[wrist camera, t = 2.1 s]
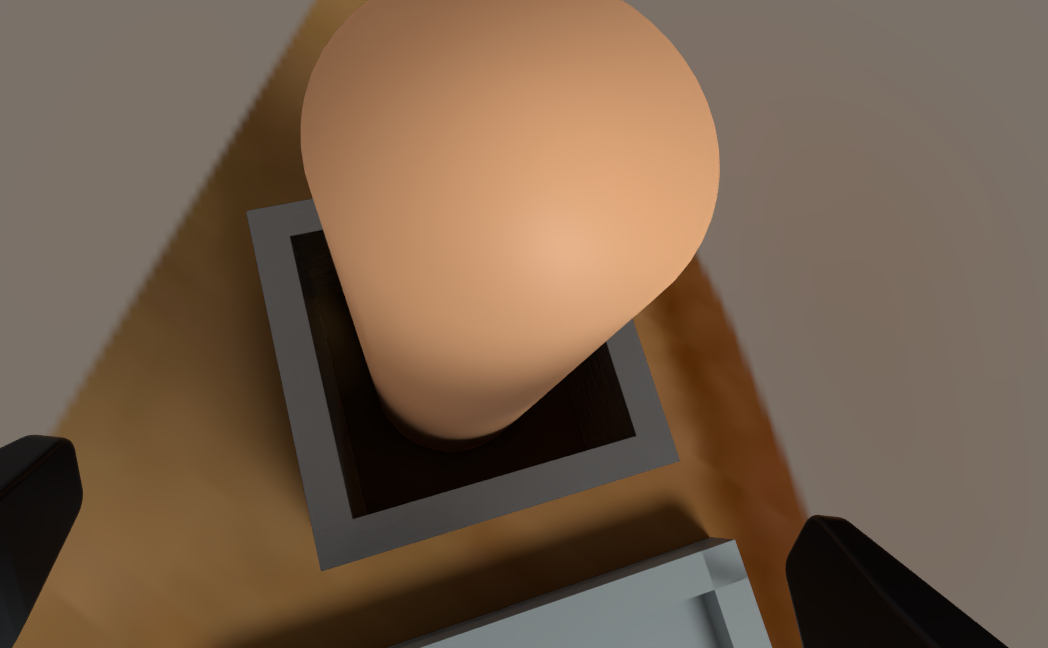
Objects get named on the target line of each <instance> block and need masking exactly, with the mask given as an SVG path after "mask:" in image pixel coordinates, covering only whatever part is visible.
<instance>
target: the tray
mask: <svg viewBox="0 0 1048 648" xmlns="http://www.w3.org/2000/svg"><path fill="white" fill-rule="evenodd" d="M387 648H772V646H771V643H770V641H769V638H768V635H767V632H766V629H765V626H764V623H763V620H762V617H761V614H760V611H759V609H758V606H757V603H756V600H755V597H754V594H753V591H752V588H751V585H750V582H749V579H748V577H747V574H746V571H745V568H744V565H743V562H742V559H741V556H740V553H739V550H738V547H737V545H736V542H735V540H734V539H723V538H713V537H710V538H708V539H705V540H702V541H699V542H696V543H693V544H690V545H687V546H684V547H681V548H678V549H675V550H672V551H669V552H666V553H663V554H661V555H658V556H655V557H652V558H649V559H646V560H643V561H640V562H637V563H634V564H631V565H628V566H625V567H622V568H619V569H616V570H613V571H611V572H608V573H605V574H602V575H599V576H596V577H593V578H590V579H587V580H584V581H581V582H578V583H575V584H572V585H569V586H566V587H563V588H561V589H558V590H555V591H552V592H549V593H546V594H543V595H540V596H537V597H534V598H531V599H528V600H525V601H522V602H519V603H516V604H513V605H511V606H508V607H505V608H502V609H499V610H496V611H493V612H490V613H487V614H484V615H481V616H478V617H475V618H472V619H469V620H466V621H463V622H461V623H458V624H455V625H452V626H449V627H446V628H443V629H440V630H437V631H434V632H431V633H428V634H425V635H422V636H419V637H416V638H413V639H411V640H408V641H405V642H402V643H399V644H396V645H393V646H390V647H387Z"/></svg>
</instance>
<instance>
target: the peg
mask: <svg viewBox="0 0 1048 648" xmlns="http://www.w3.org/2000/svg"><path fill="white" fill-rule="evenodd" d="M301 151H302V158H303V164H304V171H305V175H306V178H307V181H308V185H309V188H310V191H311V194H312V197H313V201H314V204H315V207H316V210H317V213H318V216H319V219H320V222H321V225H322V228H323V231H324V234H325V237H326V240H327V243H328V246H329V249H330V252H331V255H332V258H333V261H334V265H335V268H336V271H337V274H338V277H339V280H340V283H341V286H342V289H343V292H344V295H345V298H346V301H347V304H348V307H349V310H350V313H351V316H352V319H353V322H354V325H355V329H356V332H357V335H358V338H359V341H360V344H361V347H362V350H363V353H364V356H365V359H366V362H367V365H368V368H369V371H370V374H371V377H372V380H373V383H374V386H375V389H376V393H377V396H378V399H379V402H380V404H381V406H382V409H383V411H384V413H385V414H386V416H387V417H388V419H389V420H390V422H391V423H392V424H393V425H394V426H395V428H396V429H397V430H398V431H400V432H401V433H402V434H403V435H404V436H406V437H407V438H409V439H410V440H412V441H413V442H415V443H417V444H419V445H421V446H424V447H427V448H430V449H434V450H440V451H463V450H468V449H472V448H475V447H478V446H481V445H483V444H485V443H487V442H489V441H491V440H492V439H494V438H495V437H497V436H498V435H499V434H501V433H502V432H503V431H504V430H505V429H506V428H507V427H509V426H510V425H511V424H512V423H513V422H514V421H515V420H517V419H518V418H519V417H520V416H521V415H522V414H523V413H525V412H526V411H527V410H528V409H529V408H530V407H531V406H533V405H534V404H535V403H536V402H537V401H538V400H539V399H541V398H542V397H543V396H544V395H545V394H546V393H547V392H549V391H550V390H551V389H552V388H553V387H554V386H555V385H557V384H558V383H559V382H560V381H561V380H562V379H563V378H565V377H566V376H567V375H568V374H569V373H570V372H571V371H573V370H574V369H575V368H576V367H577V366H578V365H579V364H581V363H582V362H583V361H584V360H585V359H586V358H587V357H589V356H590V355H591V354H592V353H593V352H594V351H595V350H597V349H598V348H599V347H600V346H601V345H602V344H603V343H605V342H606V341H607V340H608V339H609V338H610V337H611V336H613V335H614V334H615V333H616V332H617V331H618V330H619V329H621V328H622V327H623V326H624V325H625V324H626V323H627V322H629V321H630V320H631V319H632V318H633V317H634V316H635V315H637V314H638V313H639V312H640V311H641V310H642V309H643V308H645V307H646V306H647V305H648V304H649V303H650V302H651V301H653V300H654V299H655V298H656V297H657V296H658V295H659V294H660V293H662V292H663V291H664V290H665V289H666V288H667V287H668V286H669V285H670V284H671V283H673V282H674V281H675V279H676V278H677V277H678V276H679V275H680V273H681V272H682V271H683V270H684V268H685V267H686V266H687V265H688V264H689V262H690V261H691V259H692V258H693V256H694V254H695V253H696V251H697V249H698V247H699V246H700V244H701V242H702V241H703V238H704V236H705V234H706V231H707V229H708V226H709V224H710V221H711V219H712V215H713V211H714V207H715V203H716V199H717V195H718V184H719V174H720V167H719V147H718V142H717V136H716V130H715V125H714V122H713V119H712V115H711V112H710V109H709V106H708V103H707V100H706V98H705V96H704V94H703V92H702V90H701V88H700V85H699V83H698V81H697V79H696V78H695V76H694V74H693V73H692V71H691V70H690V68H689V66H688V65H687V63H686V62H685V60H684V59H683V57H682V56H681V55H680V53H679V52H678V51H677V50H676V48H675V47H674V46H673V45H672V43H671V42H670V41H669V40H668V39H667V38H666V37H665V36H664V35H663V34H662V33H661V32H660V31H659V30H658V29H657V28H656V26H655V25H653V24H652V23H651V22H650V21H649V20H648V19H646V18H645V17H644V16H643V15H641V14H640V13H639V12H638V11H637V10H635V9H634V8H633V7H632V6H630V5H629V4H627V3H625V2H624V1H622V0H368V1H367V2H365V3H364V4H363V5H362V6H360V7H359V8H358V9H357V10H355V11H354V12H353V13H352V14H351V15H350V16H349V17H348V18H347V19H346V21H345V22H344V23H343V24H342V25H341V26H340V27H339V28H338V29H337V30H336V32H335V33H334V35H333V36H332V37H331V39H330V40H329V42H328V43H327V45H326V46H325V47H324V49H323V51H322V53H321V55H320V57H319V59H318V61H317V63H316V65H315V67H314V69H313V71H312V74H311V77H310V80H309V83H308V86H307V89H306V93H305V96H304V103H303V109H302V116H301Z"/></svg>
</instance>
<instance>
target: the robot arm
mask: <svg viewBox="0 0 1048 648" xmlns="http://www.w3.org/2000/svg"><path fill="white" fill-rule="evenodd" d="M82 499H83V489H82V484H81V478H80V473H79V468H78V463H77V458H76V453H75V448H74V445H73V444H72V442H71V441H70V440H68V439H66V438H62V437H53V436H43V435H29V436H25V437H23V438H20V439H18V440H16V441H14V442H12V443H10V444H8V445H6V446H4V447H1V448H0V648H12V647H13V645H14V643H15V642H16V640H17V638H18V636H19V634H20V632H21V630H22V628H23V626H24V625H25V623H26V621H27V619H28V617H29V615H30V613H31V611H32V608H33V606H34V604H35V602H36V600H37V598H38V596H39V594H40V592H41V590H42V588H43V586H44V584H45V582H46V580H47V577H48V575H49V573H50V571H51V569H52V567H53V565H54V563H55V561H56V559H57V557H58V555H59V553H60V551H61V549H62V546H63V544H64V542H65V540H66V538H67V536H68V534H69V532H70V530H71V528H72V526H73V524H74V522H75V520H76V518H77V515H78V513H79V511H80V508H81V505H82ZM786 578H787V582H788V586H789V591H790V595H791V599H792V603H793V607H794V611H795V616H796V620H797V624H798V628H799V632H800V637H801V641H802V645H803V648H1008V647H1007V646H1006V645H1005V644H1003V643H1002V642H1000V640H998V639H997V638H996V637H994V636H993V635H992V634H991V633H989V632H988V631H987V630H985V629H984V628H983V627H982V626H981V625H979V624H978V623H977V622H975V621H974V620H973V619H972V618H970V617H969V616H968V615H967V614H965V613H964V612H963V611H962V610H960V609H959V608H958V607H956V606H955V605H954V604H953V603H951V602H950V601H949V600H948V599H946V598H945V597H944V596H943V595H941V594H940V593H939V592H937V591H936V590H935V589H933V588H932V587H931V586H930V585H929V584H927V583H926V582H925V581H923V580H922V579H921V578H920V577H918V576H917V575H916V574H915V573H913V572H912V571H911V570H909V569H908V568H907V567H906V566H904V565H903V564H902V563H901V562H899V561H898V560H897V559H895V558H894V557H893V556H892V555H891V554H889V553H888V552H887V551H885V550H884V549H883V548H882V547H880V546H879V545H878V544H877V543H875V542H874V541H873V540H872V539H870V538H869V537H868V536H867V535H865V534H864V533H863V532H861V531H860V530H859V529H858V528H856V527H855V526H854V525H853V524H851V523H850V522H849V521H847V520H846V519H843V518H840V517H833V516H823V515H814V516H812V517H810V518H809V519H808V520H807V521H806V523H805V524H804V526H803V528H802V530H801V532H800V534H799V536H798V538H797V539H796V541H795V543H794V545H793V547H792V549H791V551H790V553H789V555H788V557H787V561H786Z"/></svg>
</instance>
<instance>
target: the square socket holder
mask: <svg viewBox="0 0 1048 648" xmlns="http://www.w3.org/2000/svg"><path fill="white" fill-rule="evenodd" d="M246 213H247V218H248V222H249V227H250V232H251V237H252V242H253V246H254V251H255V256H256V261H257V266H258V270H259V275H260V280H261V285H262V290H263V295H264V299H265V304H266V309H267V314H268V319H269V323H270V328H271V333H272V338H273V343H274V347H275V352H276V357H277V362H278V367H279V371H280V376H281V381H282V386H283V391H284V396H285V400H286V405H287V410H288V415H289V420H290V424H291V429H292V434H293V439H294V444H295V448H296V453H297V458H298V463H299V468H300V472H301V477H302V482H303V487H304V492H305V497H306V501H307V506H308V511H309V516H310V521H311V525H312V530H313V535H314V540H315V545H316V549H317V554H318V559H319V564H320V569H321V571H324V570H327V569H330V568H334V567H337V566H340V565H343V564H347V563H350V562H353V561H356V560H360V559H363V558H366V557H369V556H373V555H376V554H379V553H382V552H386V551H389V550H392V549H395V548H399V547H402V546H405V545H408V544H412V543H415V542H418V541H421V540H425V539H428V538H431V537H434V536H438V535H441V534H444V533H447V532H451V531H454V530H457V529H460V528H464V527H467V526H470V525H473V524H477V523H480V522H483V521H486V520H490V519H493V518H496V517H499V516H503V515H506V514H509V513H512V512H516V511H519V510H522V509H525V508H529V507H532V506H535V505H538V504H542V503H545V502H548V501H551V500H555V499H558V498H561V497H564V496H568V495H571V494H574V493H577V492H581V491H584V490H587V489H590V488H594V487H597V486H600V485H603V484H607V483H610V482H613V481H616V480H620V479H623V478H626V477H629V476H633V475H636V474H639V473H642V472H646V471H649V470H652V469H655V468H659V467H662V466H665V465H668V464H672V463H675V462H678V461H680V460H679V457H678V454H677V451H676V448H675V445H674V442H673V439H672V436H671V433H670V430H669V427H668V424H667V421H666V418H665V415H664V412H663V409H662V406H661V403H660V400H659V397H658V394H657V391H656V388H655V385H654V382H653V379H652V376H651V373H650V370H649V367H648V364H647V361H646V358H645V355H644V352H643V349H642V346H641V343H640V340H639V337H638V334H637V331H636V328H635V325H634V322H633V319H631V320H630V321H629V322H627V323H626V324H625V325H624V326H623V327H622V328H621V329H619V330H618V331H617V332H616V333H615V334H614V335H613V336H611V337H610V338H609V339H608V340H607V341H606V342H605V343H603V344H602V345H601V346H600V347H599V348H598V349H597V350H595V351H594V352H593V353H592V354H591V355H590V356H589V357H587V358H586V359H585V360H584V361H583V362H582V363H581V364H579V365H578V366H577V367H576V368H575V369H574V370H573V371H571V372H570V373H569V374H568V375H567V376H566V377H565V381H566V384H567V387H568V390H569V394H570V397H571V400H572V404H573V407H574V410H575V413H576V417H577V420H578V423H579V426H580V430H581V433H582V436H583V440H584V443H585V446H586V449H587V451H584V452H580V453H577V454H574V455H570V456H567V457H563V458H560V459H557V460H553V461H550V462H546V463H543V464H540V465H536V466H533V467H529V468H526V469H523V470H519V471H516V472H512V473H509V474H506V475H502V476H499V477H495V478H492V479H488V480H485V481H482V482H478V483H475V484H471V485H468V486H465V487H461V488H458V489H454V490H451V491H448V492H444V493H441V494H437V495H434V496H431V497H427V498H424V499H420V500H417V501H414V502H410V503H407V504H403V505H400V506H397V507H393V508H390V509H386V510H383V511H380V512H376V513H373V514H369V515H367V513H366V509H365V504H364V500H363V496H362V491H361V487H360V482H359V478H358V474H357V469H356V465H355V460H354V456H353V452H352V447H351V443H350V438H349V434H348V430H347V425H346V421H345V416H344V412H343V407H342V403H341V399H340V394H339V390H338V385H337V381H336V377H335V372H334V368H333V363H332V359H331V355H330V350H329V346H328V341H327V337H326V332H325V328H324V324H323V319H322V315H321V310H320V306H319V302H318V297H319V296H324V295H328V294H333V293H337V292H342V291H343V289H342V286H341V283H340V280H339V277H338V274H337V271H336V268H335V265H334V261H333V258H332V255H331V252H330V249H329V246H328V243H327V240H326V237H325V234H324V231H323V228H322V225H321V222H320V219H319V216H318V213H317V210H316V207H315V204H314V201H313V199H309V200H303V201H298V202H292V203H287V204H282V205H276V206H271V207H265V208H260V209H255V210H249V211H246Z"/></svg>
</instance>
